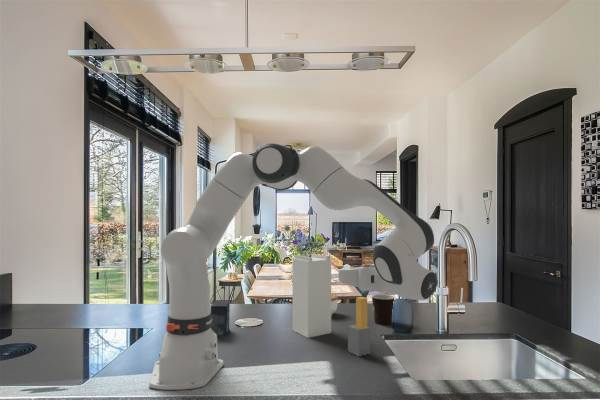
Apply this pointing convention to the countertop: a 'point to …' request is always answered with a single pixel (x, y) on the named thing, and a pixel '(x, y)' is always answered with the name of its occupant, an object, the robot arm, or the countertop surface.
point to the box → (220, 317)
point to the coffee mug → (383, 309)
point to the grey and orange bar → (359, 330)
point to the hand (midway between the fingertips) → (353, 270)
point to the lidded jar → (334, 303)
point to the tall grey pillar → (311, 295)
